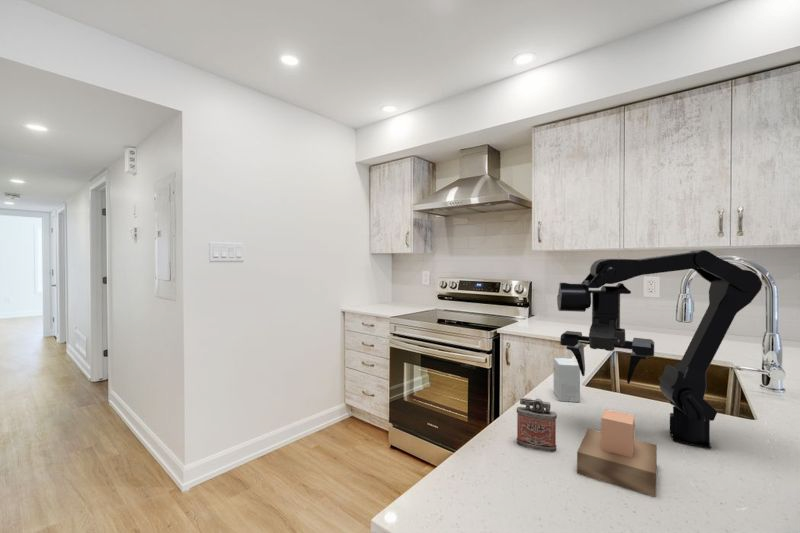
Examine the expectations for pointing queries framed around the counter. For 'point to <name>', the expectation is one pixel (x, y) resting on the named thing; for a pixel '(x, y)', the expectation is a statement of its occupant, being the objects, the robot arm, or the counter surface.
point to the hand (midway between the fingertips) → (605, 379)
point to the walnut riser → (619, 464)
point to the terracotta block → (617, 433)
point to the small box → (566, 379)
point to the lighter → (536, 425)
